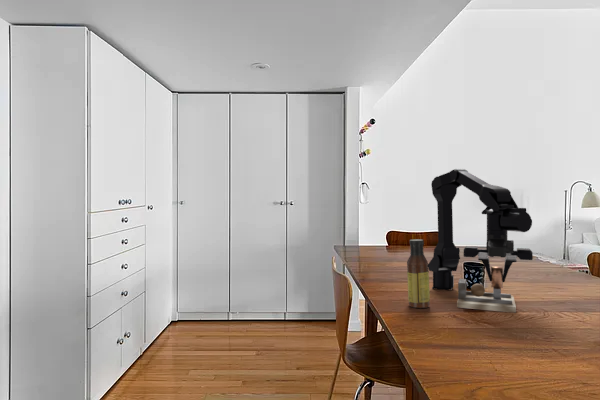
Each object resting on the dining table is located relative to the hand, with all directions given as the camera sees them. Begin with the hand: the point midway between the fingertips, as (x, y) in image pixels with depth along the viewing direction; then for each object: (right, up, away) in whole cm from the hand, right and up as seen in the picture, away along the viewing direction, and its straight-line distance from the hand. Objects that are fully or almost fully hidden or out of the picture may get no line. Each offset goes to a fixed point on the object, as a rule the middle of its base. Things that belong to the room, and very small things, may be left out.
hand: (497, 281), depth 134 cm
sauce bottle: (-24, -7, -2) cm, 25 cm away
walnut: (-5, -5, +2) cm, 7 cm away
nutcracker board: (-3, -7, +1) cm, 8 cm away
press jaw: (0, -5, 0) cm, 5 cm away
